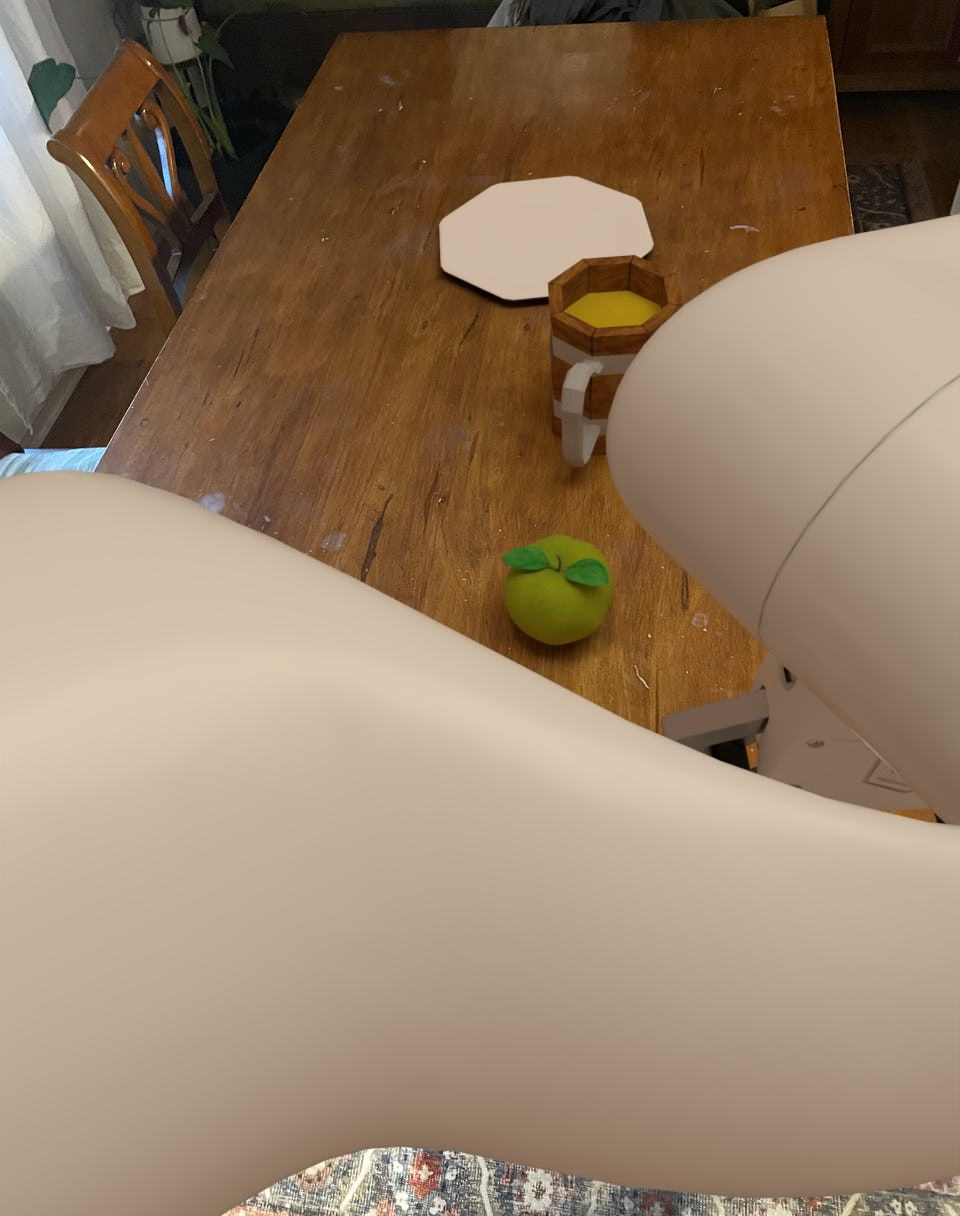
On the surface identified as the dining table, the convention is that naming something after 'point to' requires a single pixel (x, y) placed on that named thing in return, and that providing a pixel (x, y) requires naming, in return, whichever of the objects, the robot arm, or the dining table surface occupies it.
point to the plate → (538, 234)
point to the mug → (600, 341)
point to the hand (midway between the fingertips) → (832, 804)
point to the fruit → (558, 589)
